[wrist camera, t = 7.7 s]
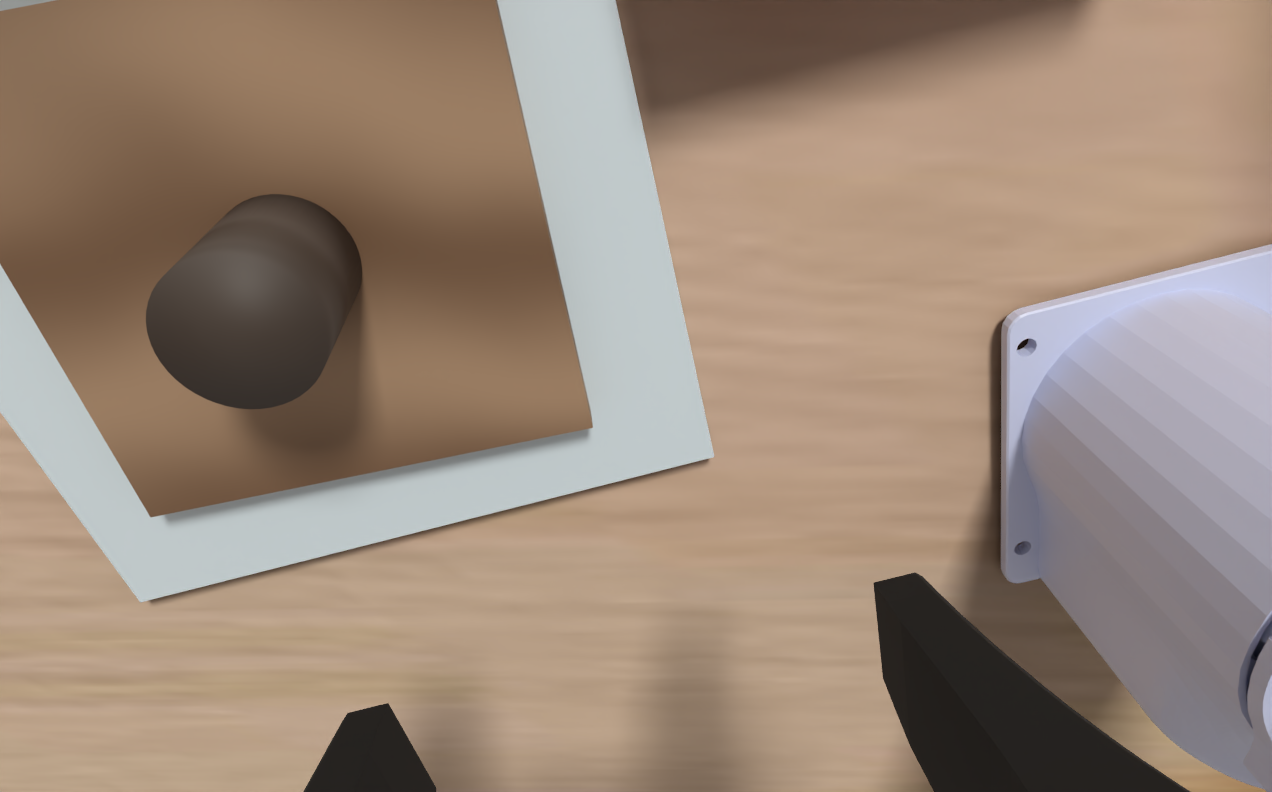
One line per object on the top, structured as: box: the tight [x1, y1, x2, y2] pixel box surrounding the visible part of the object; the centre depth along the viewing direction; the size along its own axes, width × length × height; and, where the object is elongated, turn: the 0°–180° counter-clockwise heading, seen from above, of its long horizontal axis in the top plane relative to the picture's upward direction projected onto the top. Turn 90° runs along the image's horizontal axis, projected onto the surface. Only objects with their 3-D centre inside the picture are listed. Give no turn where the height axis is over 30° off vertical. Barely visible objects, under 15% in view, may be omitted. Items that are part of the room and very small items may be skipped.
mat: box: [0, 0, 714, 602], centre depth 19 cm, size 16×16×1 cm
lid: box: [0, 0, 593, 517], centre depth 16 cm, size 11×11×4 cm
